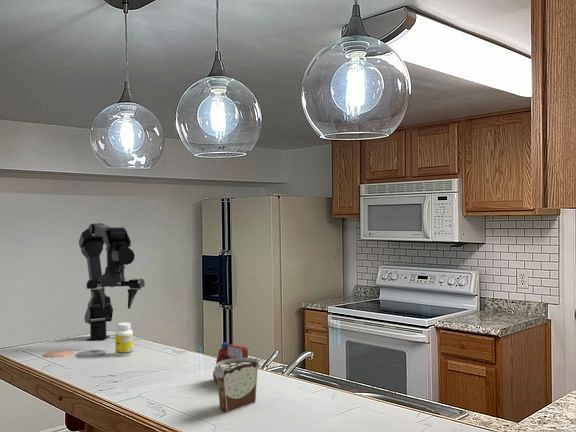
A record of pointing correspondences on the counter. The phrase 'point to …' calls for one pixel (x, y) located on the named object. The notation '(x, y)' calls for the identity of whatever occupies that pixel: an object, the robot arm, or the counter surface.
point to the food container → (236, 383)
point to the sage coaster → (121, 356)
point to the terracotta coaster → (58, 353)
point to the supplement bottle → (124, 339)
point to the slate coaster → (91, 353)
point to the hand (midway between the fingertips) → (116, 308)
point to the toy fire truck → (230, 354)
